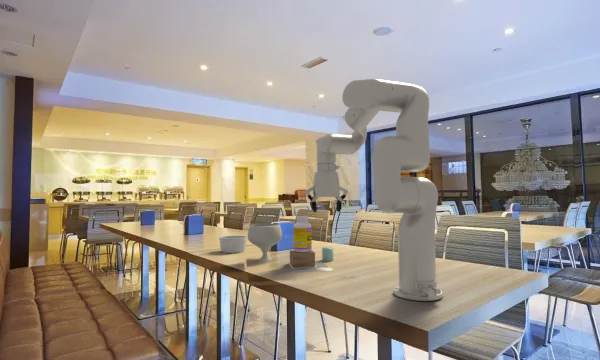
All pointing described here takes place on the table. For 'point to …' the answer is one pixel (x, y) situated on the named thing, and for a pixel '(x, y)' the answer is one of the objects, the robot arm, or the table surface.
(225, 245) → the ramekin
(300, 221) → the supplement bottle
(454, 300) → the table surface
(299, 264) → the walnut plinth
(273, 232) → the chalice
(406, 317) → the table surface
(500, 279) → the table surface
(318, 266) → the build board
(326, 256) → the teal post
